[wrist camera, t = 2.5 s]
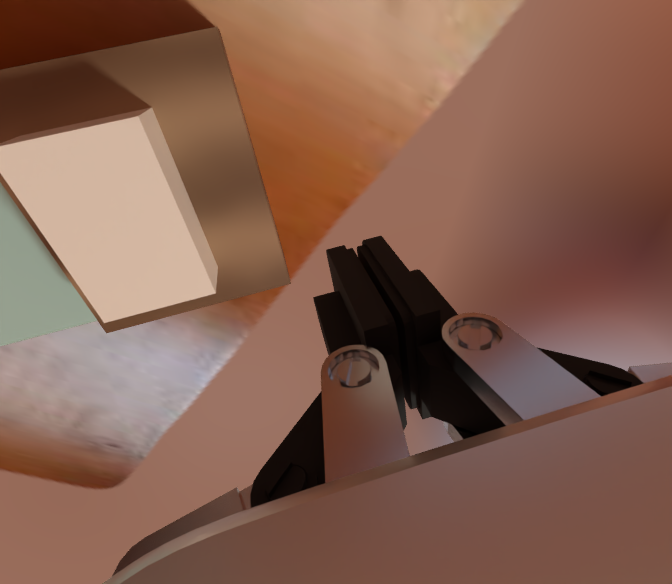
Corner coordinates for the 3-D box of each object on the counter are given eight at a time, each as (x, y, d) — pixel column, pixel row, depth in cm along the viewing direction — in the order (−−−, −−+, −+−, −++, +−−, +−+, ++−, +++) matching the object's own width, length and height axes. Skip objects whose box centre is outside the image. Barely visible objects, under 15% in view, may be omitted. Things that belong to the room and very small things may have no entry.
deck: (-16, 78, 19) (-69, 83, 15) (219, 31, 20) (216, 26, 16) (122, 298, 27) (106, 333, 23) (284, 256, 28) (290, 283, 24)
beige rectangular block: (20, 135, 17) (-16, 149, 14) (151, 107, 17) (138, 116, 15) (118, 293, 22) (104, 323, 20) (218, 267, 23) (215, 293, 20)
